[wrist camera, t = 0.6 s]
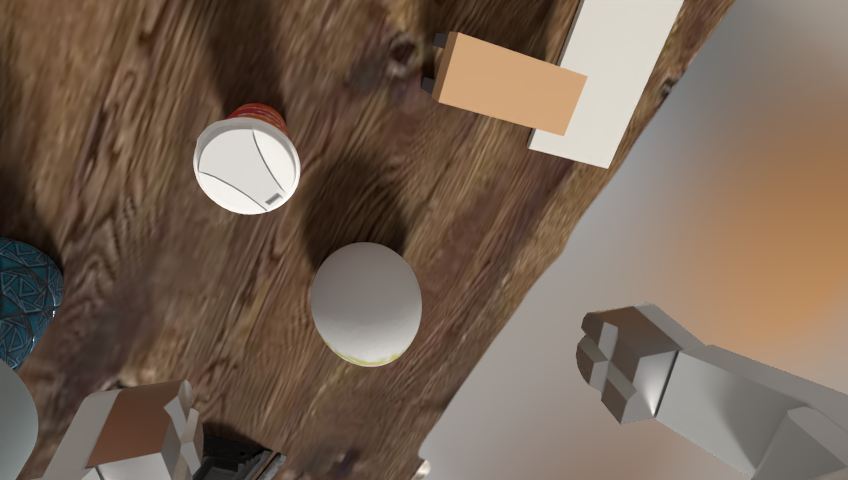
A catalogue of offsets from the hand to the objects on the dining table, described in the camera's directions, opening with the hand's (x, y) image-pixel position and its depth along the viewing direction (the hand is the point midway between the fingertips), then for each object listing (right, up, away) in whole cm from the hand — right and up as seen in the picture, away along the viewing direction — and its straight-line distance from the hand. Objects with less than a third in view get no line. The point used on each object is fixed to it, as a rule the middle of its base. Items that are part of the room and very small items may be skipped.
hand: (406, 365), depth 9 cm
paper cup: (-17, +14, +37) cm, 42 cm away
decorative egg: (-8, -1, +47) cm, 48 cm away
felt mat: (+21, +22, +43) cm, 53 cm away
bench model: (+7, +20, +40) cm, 45 cm away
